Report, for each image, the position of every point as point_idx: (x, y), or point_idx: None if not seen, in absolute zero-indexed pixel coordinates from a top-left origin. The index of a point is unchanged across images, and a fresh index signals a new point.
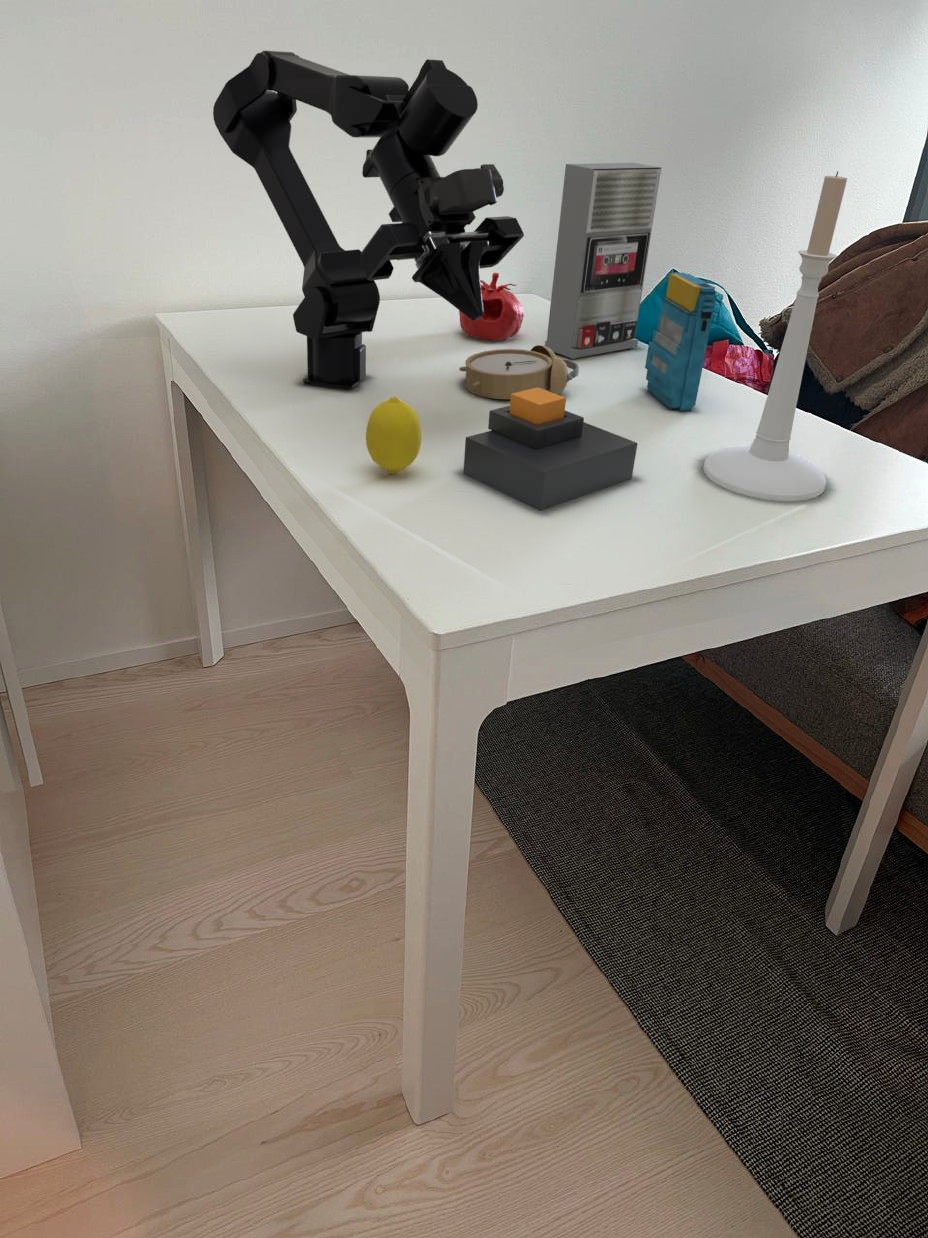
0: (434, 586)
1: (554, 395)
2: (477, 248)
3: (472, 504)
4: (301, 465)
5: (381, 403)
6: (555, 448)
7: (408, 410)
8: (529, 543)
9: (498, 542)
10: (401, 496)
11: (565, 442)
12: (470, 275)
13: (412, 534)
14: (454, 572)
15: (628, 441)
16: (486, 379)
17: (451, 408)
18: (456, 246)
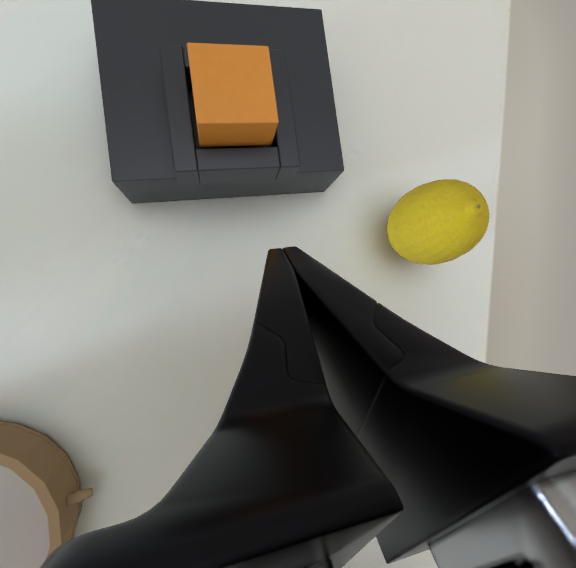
0: (482, 10)
1: (202, 64)
2: (265, 474)
3: (363, 116)
4: (477, 310)
5: (484, 223)
6: None
7: (455, 186)
8: (364, 10)
9: (390, 32)
10: (420, 177)
11: None
12: (314, 347)
13: (453, 97)
14: (457, 16)
15: (102, 6)
16: (57, 490)
17: (178, 435)
18: (570, 410)
